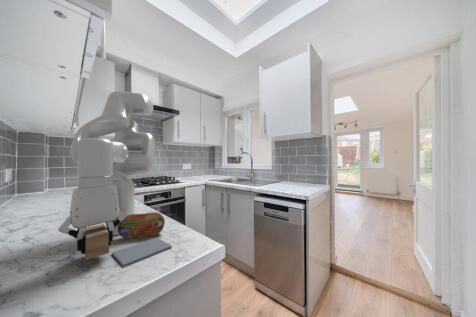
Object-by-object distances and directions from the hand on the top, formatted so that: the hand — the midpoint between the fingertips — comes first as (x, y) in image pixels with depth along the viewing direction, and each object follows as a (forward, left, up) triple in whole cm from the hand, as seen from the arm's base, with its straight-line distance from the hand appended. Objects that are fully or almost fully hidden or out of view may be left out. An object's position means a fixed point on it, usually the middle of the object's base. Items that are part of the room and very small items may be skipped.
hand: (95, 247), depth 47 cm
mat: (+6, +10, -3) cm, 12 cm away
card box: (0, 0, -1) cm, 1 cm away
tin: (-6, +15, -3) cm, 16 cm away
